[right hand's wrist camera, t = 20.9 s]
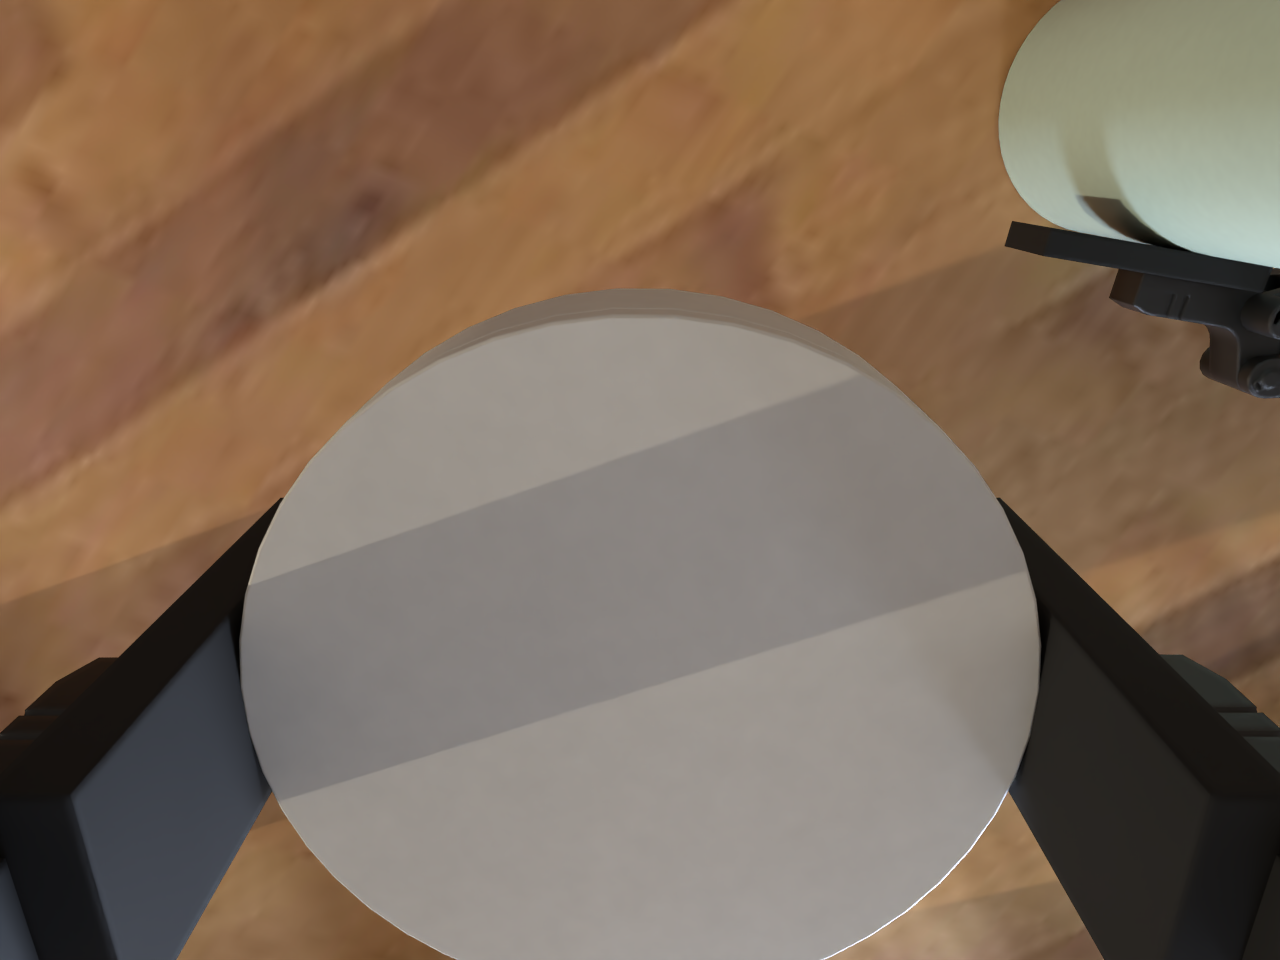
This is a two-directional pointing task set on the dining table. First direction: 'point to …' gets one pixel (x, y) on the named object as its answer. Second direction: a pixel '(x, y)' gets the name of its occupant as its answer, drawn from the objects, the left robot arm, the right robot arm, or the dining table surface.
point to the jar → (1151, 123)
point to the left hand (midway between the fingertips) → (1079, 66)
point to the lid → (640, 640)
